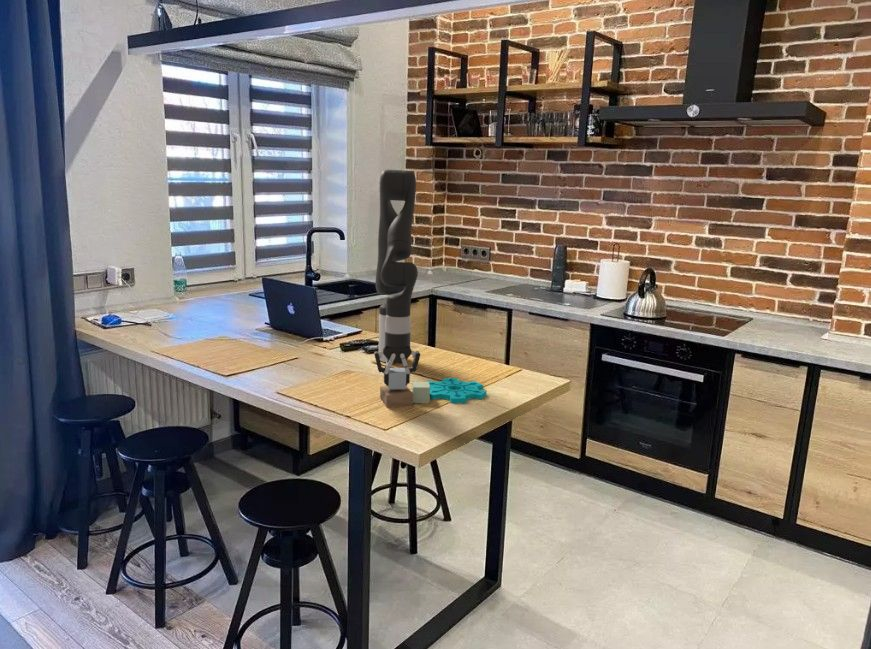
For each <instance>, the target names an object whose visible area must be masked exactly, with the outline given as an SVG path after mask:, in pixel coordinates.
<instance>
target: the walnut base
mask: <svg viewBox="0 0 871 649" xmlns="http://www.w3.org/2000/svg"><path fill="white" fill-rule="evenodd" d="M379 399H380V401H381V402H382V401H383V402H382V403H383V405H384V404H385V405H384V406H385V407H386V408H395V407H407V406H408V407H409V406H413V404H414V403H413V393H412V390H411V389H410V388H409V387H408V385H407V386H406V389H389V388H388V386H386V385H385V386H380V389H379Z"/></svg>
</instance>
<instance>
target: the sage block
mask: <svg viewBox="0 0 871 649" xmlns="http://www.w3.org/2000/svg"><path fill="white" fill-rule="evenodd" d="M411 388H412V389H411V392H412V393H413V404H429V403H430V400H431V398H430V385H429V382H427V381H412V387H411Z"/></svg>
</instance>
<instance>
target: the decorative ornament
mask: <svg viewBox="0 0 871 649" xmlns="http://www.w3.org/2000/svg"><path fill="white" fill-rule="evenodd" d="M426 382H429V385H430V400H437V399H443V400H447V401H448V400H449V402H450V403H451V404H466V403H467V400H471V399H477V400H483V399H484V398H485V397H486V396H487V392H488V391H487V390H484V384H483V383H480V382H479V381H478V382H477V381H475V380H472V381H469V382H468V381H462V380H459V379H458V377H444V378H443V380H440V381H431V380H427V381H426Z"/></svg>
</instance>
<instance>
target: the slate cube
mask: <svg viewBox="0 0 871 649" xmlns="http://www.w3.org/2000/svg"><path fill="white" fill-rule="evenodd" d="M388 373H389V386H388V388H389V389H406V371H405V368H404V367H391V368H390V370H389V372H388Z"/></svg>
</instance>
